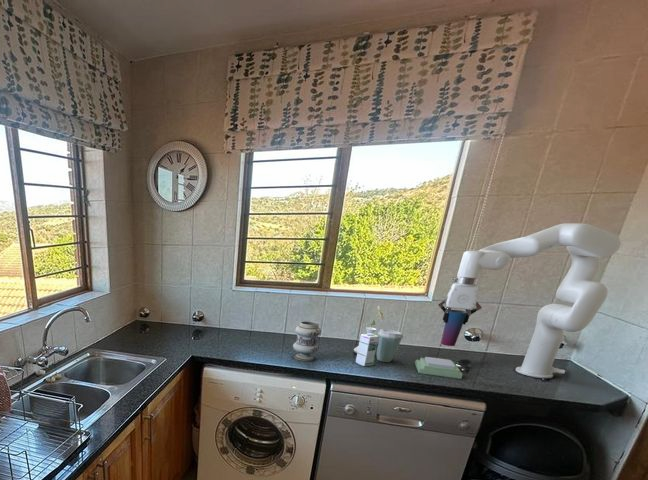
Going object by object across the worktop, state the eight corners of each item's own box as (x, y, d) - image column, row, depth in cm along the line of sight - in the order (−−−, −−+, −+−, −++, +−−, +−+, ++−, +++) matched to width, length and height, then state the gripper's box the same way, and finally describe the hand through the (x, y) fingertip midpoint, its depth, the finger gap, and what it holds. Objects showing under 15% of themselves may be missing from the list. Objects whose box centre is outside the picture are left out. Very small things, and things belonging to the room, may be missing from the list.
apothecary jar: (294, 352, 208) (299, 318, 201) (318, 356, 202) (325, 321, 196) (288, 359, 198) (294, 323, 192) (314, 363, 193) (320, 327, 186)
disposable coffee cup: (382, 355, 205) (389, 327, 199) (402, 362, 195) (409, 332, 190) (367, 357, 201) (373, 328, 195) (386, 364, 192) (393, 334, 186)
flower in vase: (372, 359, 198) (383, 309, 189) (349, 354, 207) (358, 305, 197) (383, 354, 206) (394, 306, 197) (360, 349, 214) (370, 302, 205)
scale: (454, 368, 187) (457, 361, 186) (461, 378, 175) (463, 371, 174) (414, 363, 194) (416, 356, 192) (418, 372, 182) (420, 365, 181)
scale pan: (449, 363, 186) (450, 359, 185) (454, 369, 177) (455, 366, 177) (424, 359, 190) (425, 356, 189) (427, 366, 181) (428, 363, 181)
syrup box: (364, 366, 189) (370, 336, 184) (354, 362, 195) (360, 333, 189) (374, 365, 191) (380, 336, 185) (364, 361, 196) (370, 332, 191)
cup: (460, 347, 175) (470, 313, 170) (443, 346, 177) (452, 312, 171) (452, 342, 182) (462, 310, 176) (436, 341, 183) (445, 309, 177)
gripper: (443, 280, 169) (432, 322, 176) (494, 284, 162) (480, 327, 169) (440, 278, 176) (429, 319, 182) (489, 281, 169) (476, 323, 175)
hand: (454, 322), depth 176 cm, fingers closed on cup, 6 cm apart
